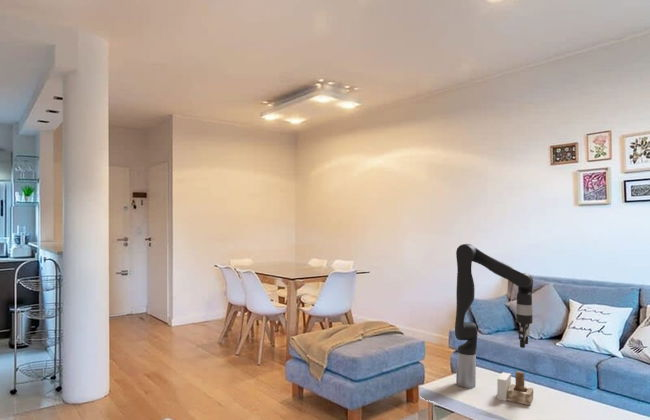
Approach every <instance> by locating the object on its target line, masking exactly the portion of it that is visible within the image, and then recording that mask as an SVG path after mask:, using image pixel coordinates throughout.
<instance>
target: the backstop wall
mask: <svg viewBox="0 0 650 420" xmlns="http://www.w3.org/2000/svg"><path fill="white" fill-rule="evenodd" d="M511 384H512V374H511V373H509V372H501V373H500V375H499V376H498V378H497V388H496V390H497V391H496V395H497V396H496V397H497V400H499V401H503V402H507V401H508V389H509V387H510V386H511Z"/></svg>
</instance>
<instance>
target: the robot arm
mask: <svg viewBox="0 0 650 420" xmlns="http://www.w3.org/2000/svg"><path fill="white" fill-rule="evenodd" d="M455 256H456V266H457V273H456V275H457V276H456V312H455V313H456V314H455V323H454V335H455V338H456V340H458V341H466V342H464V343H462V344H460V345H458V347H457V366H456V368H455V369H456V372H455V373H456V374H455V375H456V376H455V377H456V384H455V385H456V386H458V387H461V388H464V389H473V388H476V385H477V384H476V383H477V382H476V380H477V379H476V378H477V377H476V375H477V374H476V373H477V371H476V370H477V365H476V363H477V358H476V357H477V356H476V355H477V348H478V344H477V343H478V327H477V324H476V323H474V322H470V321H469V322H468V321H467V322H465V316H466V314H467V312H468V311H469V309H470V307H471V306H472V304H473V302H474V300H475V293H476V292H475V289H476V288H475V283H474V277H473V274H472V273H473V272H472V267H473V266H472V264H473V263H476V264H479V265H481V266H483V268H486V269H487V270H489V271H490V272H492V273H493V274H495V275H497V276H499V277H501V278H503V279H506V280H508V281H509V282H511V283H512V284H513V285H515V286H517V294H516V307H515V322H516V323H518V324H520V326H518V340H519V347H520V348H521V349H524V348H526V345H528V344H529V336H530V325H531V324H533V295H532V294H533V288H534V287H533V285H534V280H533V279H534V278H533V277H532V275H531V274H530V273H527V272H521V271H519V270H517V269H515V268H514V267H513V266H511V265H510V264H508V263H504V261H500V260H498V259H496V258H494V257H492V256H490V255H488V254H486V253H484V252H483V251H481V250H480V249H478V248H477V247H476V246H474V245H473V244H470V243H463V244H460V245H458V247H457V248H456V252H455ZM472 262H473V263H472Z"/></svg>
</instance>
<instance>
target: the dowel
mask: <svg viewBox="0 0 650 420" xmlns="http://www.w3.org/2000/svg"><path fill="white" fill-rule="evenodd" d="M514 377H515V385H516V390H517V391H522V392H524V387H525V372H523V371H520V370H519V371H518V370H517V371H515V376H514Z"/></svg>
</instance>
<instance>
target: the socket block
mask: <svg viewBox="0 0 650 420" xmlns="http://www.w3.org/2000/svg"><path fill="white" fill-rule="evenodd" d="M533 400H534V388H533V387H528V386H524V392H522V391H517V390H516V384H513V383H511V386H510V387H509V389H508V399H507V401H509V402H514V403H516V404H517V403H518V404H523V405H527V406H531V405H532V402H533Z"/></svg>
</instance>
